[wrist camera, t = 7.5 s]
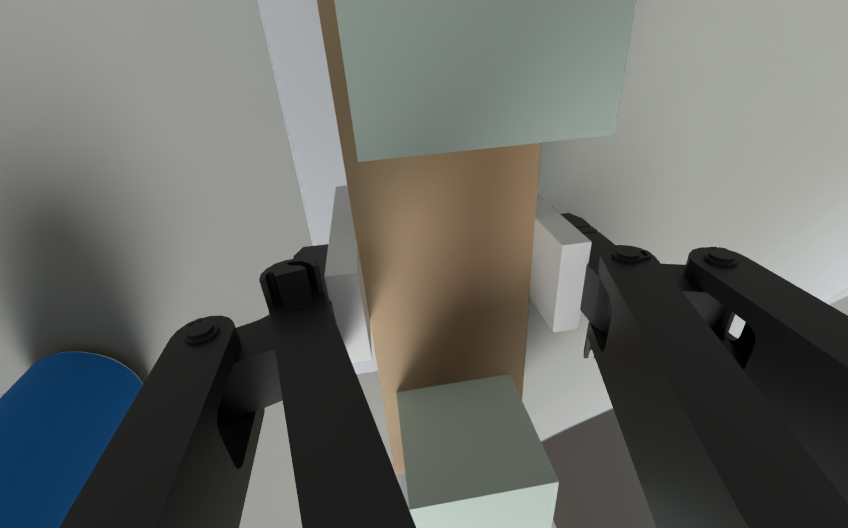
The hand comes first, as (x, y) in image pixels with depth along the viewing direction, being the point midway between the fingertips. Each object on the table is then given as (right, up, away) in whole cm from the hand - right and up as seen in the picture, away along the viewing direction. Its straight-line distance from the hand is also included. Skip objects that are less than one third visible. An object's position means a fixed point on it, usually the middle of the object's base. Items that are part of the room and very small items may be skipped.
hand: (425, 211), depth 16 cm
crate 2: (+1, -8, -1) cm, 8 cm away
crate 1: (0, +3, -7) cm, 8 cm away
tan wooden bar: (0, 0, 0) cm, 0 cm away
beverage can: (-21, -10, +10) cm, 25 cm away
